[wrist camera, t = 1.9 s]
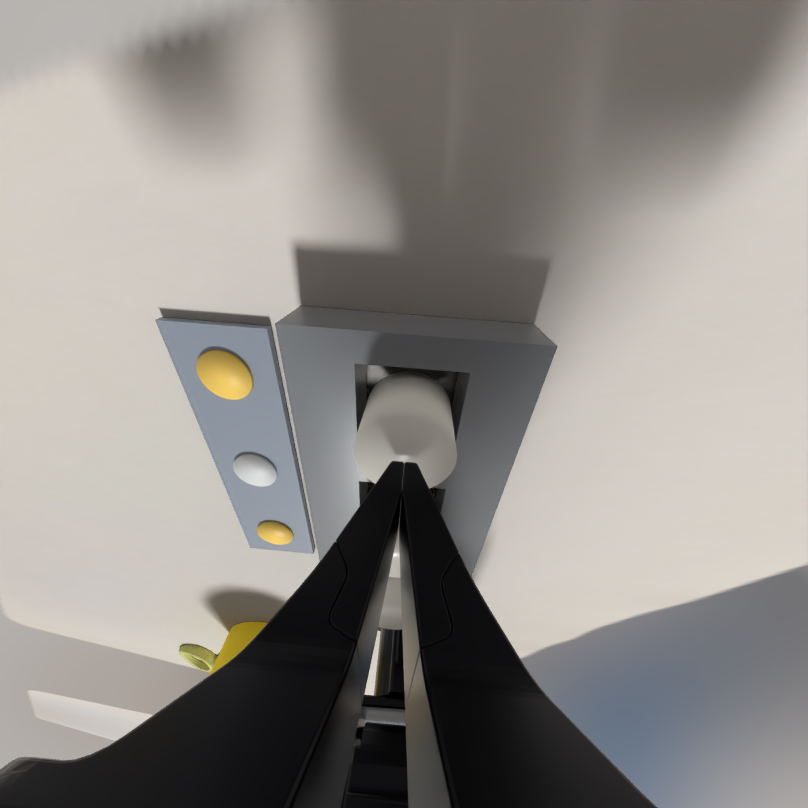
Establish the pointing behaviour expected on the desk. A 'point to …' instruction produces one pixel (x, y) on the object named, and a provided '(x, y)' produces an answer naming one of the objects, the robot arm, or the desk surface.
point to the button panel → (422, 349)
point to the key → (200, 653)
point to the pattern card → (244, 425)
